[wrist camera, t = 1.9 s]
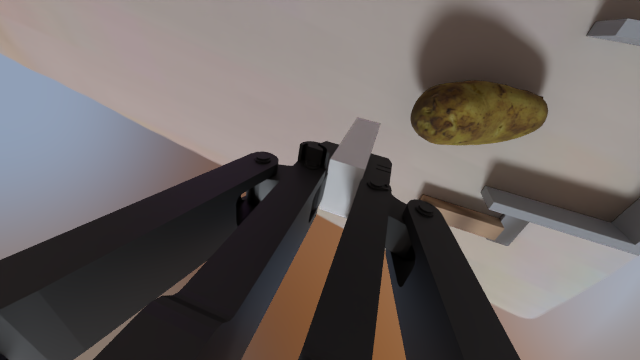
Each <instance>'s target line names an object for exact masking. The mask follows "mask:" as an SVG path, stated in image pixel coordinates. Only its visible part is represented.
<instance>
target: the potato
mask: <svg viewBox="0 0 640 360" xmlns="http://www.w3.org/2000/svg"><path fill="white" fill-rule="evenodd" d="M547 114H548V108H547V104H546V102H545V101H544V100H543V97H542V96H537V95H535V94H533V93H531V92H529V91H526V90H519V89H516V88H513V87H510V86H508V85H506V84H505V85H503V84H498V83H493V82H487V81H476V80H475V81H464V82H455V83H445V84H440V85H436V86H434V87H431V88H429V89H428V90H426V91H425V92H424V93H423V94H422V95H421V96H420V97H419V98H418V100H417V101H416V103H415V105H414V107H413V110H412V113H411V124H412V127H413V128H414V130H415V131H416V133H417V134H418V135H419V136H421V137H422V138H424V139H425V140H427V141H429V142H431V143H434V144H441V145H480V144H490V143H497V142H503V141H508V140H511V139H515V138H518V137H521V136H524V135H527V134H529V133H531V132H533V131H535V130H537V129H538V128H540V127H541V126H542V125H543V123H544V122H545V120H546V118H547Z"/></svg>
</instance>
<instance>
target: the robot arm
mask: <svg viewBox="0 0 640 360" xmlns="http://www.w3.org/2000/svg"><path fill="white" fill-rule="evenodd" d="M379 127H380V123H377V122H373V121H369V120H366V119H362V118H358V117H357V119H356V120H355V122H354V124H353V125H352V127H351V128H350V130H349V131H348V133H347V134H346V136H345V137H344V139H343V140H342V142H341V143H340V145H338V144H335V143H331V142H328V141H325V142H323V143H318V142H312V141H307V142H303V143H301V144H300V148H299V155H298V161H297V162H296V163H295V164H294V166H286V165H278V158H277V157H276V156H275V155H273V154H271V153H268V152H255V153H251V154H249V155H247V156H244V157H242V158H240V159H237V160H235V161H232V162H230V163H228V164H225V165H223V166H221V167H218V168H216V169H214V170H211V171H209V172H207V173H204V174H202V175H199V176H197V177H195V178H192V179H190V180H188V181H185V182H183V183H181V184H178V185H176V186H174V187H171V188H169V189H167V190H164V191H162V192H160V193H157V194H155V195H153V196H150V197H148V198H145V199H143V200H141V201H138V202H136V203H134V204H131V205H129V206H127V207H124V208H122V209H119V210H117V211H115V212H113V213H110V214H108V215H105V216H103V217H101V218H98V219H96V220H94V221H92V222H89V223H86V224H84V225H82V226H79V227H77V228H75V229H73V230H70V231H68V232H65V233H63V234H61V235H58V236H56V237H54V238H51V239H49V240H46V241H44V242H42V243H39V244H37V245H35V246H33V247H30V248H28V249H25V250H23V251H20V252H18V253H16V254H14V255H11V256H9V257H6V258H4V259H2V260H0V360H73V359H75V358H76V357H78V356H79V355H81V354H82V353H83V352H85V351H86V350H88V349H89V348H90V347H92V346H93V345H94V344H96V343H97V342H98V341H100V340H101V339H102V338H104V337H105V336H107V335H108V334H109V333H111V332H112V331H113V330H115V329H116V328H117V327H118V326H120V325H121V324H123V323H124V322H125V321H126V320H128V319H129V318H131V317H132V316H133V315H135V314H136V313H137V312H139V311H140V310H141V309H142V310H141V311H140V312H139V313H138V315H137V316H135V317H134V319H132V320H131V321H130V323H129V324H128V325H127V326H126V327H125V328H124V329H123V330H122V331H121V332H120V333H119V334H118V335H117V336H116V337H115V338H114V339H113V340H112V341H111V342H110V343H109V344H108V345H107V346H106V347H105V348H104V349H103V350H102V351H101V352H100V353H99V354H98V355H97V356H96V357H95V358H94V359H93V360H241V359H242V357H243V355H244V353H245V351H246V349H247V347H248V345H249V343H250V341H251V340H252V337H253V335H254V333H255V332H256V330H257V328H258V326H259V324H260V322H261V320H262V318H263V316H264V314H265V313H266V311H267V309H268V307H269V305H270V303H271V301H272V299H273V297H274V295H275V293H276V291H277V290H278V288H279V286H280V284H281V282H282V280H283V278H284V276H285V274H286V272H287V270H288V268H289V266H290V265H291V263H292V261H293V259H294V257H295V255H296V253H297V251H298V249H299V247H300V245H301V243H302V241H303V239H304V238H305V236H306V233H307V232H308V230H309V228H310V226H311V224H312V222H313V220H314V218H315V216H316V213H317V209H318V206H319V204H320V207H319V209H321V210H324V211H327V212H330V213H333V214H336V215H338V216H341V217H344V218H347V221H346V224H345V227H344V230H343V233H342V236H341V238H340V242H339V244H338V247H337V250H336V253H335V256H334V259H333V262H332V265H331V267H330V270H329V273H328V276H327V279H326V282H325V285H324V288H323V291H322V294H321V296H320V300H319V302H318V305H317V308H316V311H315V314H314V317H313V320H312V322H311V325H310V328H309V332H308V334H307V337H306V340H305V343H304V346H303V348H302V351H301V354H300V356H299V359H298V360H372V355H373V345H374V337H375V329H376V320H377V312H378V311H377V310H378V303H379V294H380V286H381V277H382V267H383V260H384V251H385V248H386V258H387V264H388V269H389V273H390V278H391V284H392V289H393V294H394V299H395V304H396V309H397V314H398V319H399V325H400V330H401V335H402V339H403V345H404V350H405V355H406V360H520V358H519V356H518V354H517V352H516V351H515V349H514V347H513V345H512V343H511V341H510V339H509V338H508V336H507V334H506V332H505V330H504V328H503V326H502V325H501V323H500V321H499V319H498V317H497V315H496V313H495V312H494V310H493V308H492V306H491V304H490V302H489V300H488V298H487V297H486V295H485V293H484V291H483V289H482V287H481V285H480V284H479V282H478V280H477V278H476V276H475V274H474V272H473V271H472V269H471V267H470V265H469V263H468V261H467V259H466V258H465V256H464V254H463V252H462V250H461V248H460V246H459V245H458V243H457V241H456V239H455V237H454V235H453V233H452V232H451V230H450V228H449V226H448V224H447V222H446V220H445V219H444V217H443V215H442V213H441V212H440V211H439V209H437V208H436V207H435V206H434V205H432V204H431V203H429V202H426V201H422V200H411V201H409V202H408V204H405V203H403V202H401V201H400V200H398V199H396V198H395V197H394V196H393V195H392V194H391V191H392V190H391V187H390V185H389V184H390V176H391V168H392V163H391V161H390V160H389V159H388V158H385V157H381V156H378V155H374V154H371V151H372V148H373V145H374V142H375V139H376V136H377V133H378V130H379ZM244 192H246V196H244V197H242V198H241V194H242V193H244ZM320 202H321V203H320ZM207 260H208V261H207ZM206 261H207V262H206ZM204 262H206V263H205V264H204V265H203V266H202V267H201V268H200V269H199V270H198V272H197V273H196V274H195V275H194V276H193V277H192V278H191V279H190V280H189V282H188V283H187V284H186V285H185V286H184V287H183V288H182V289H181V290H180V291H179V292H178V293H176V294H174V295H171V296H170V295H169V296H161V297H159V296H160V295H162V294H163V293H164V292H166V291H167V290H168V289H169V288H171V287H172V286H173V285H175V284H176V283H177V282H179V281H180V280H182V279H183V278H184V277H186V276H187V275H188V274H190V273H191V272H192V271H194V270H195V269H196V268H198V267H199V266H200V265H202V264H203V263H204ZM157 297H159V298H157ZM156 298H157V299H156ZM145 306H146V307H145ZM144 307H145V308H144ZM143 308H144V309H143Z"/></svg>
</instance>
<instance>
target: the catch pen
mask: <svg viewBox="0 0 640 360" xmlns="http://www.w3.org/2000/svg"><path fill="white" fill-rule="evenodd" d="M587 36H589V37H595V38H600V39H605V40H611V41H616V42H622V43H627V44H633V45H638V46H640V20H634V19H617V20H606V21H596V22H595V24H594V25H593V27H592V28H591V30H590V31H589V33H588V34H587ZM481 194H482V197H483V199H484V201H485V203H486V205H487V207H488V209H489V210H492V211H495V212H499V213H502V214H505V215H508V216H512V217H515V218H518V219H521V220H525V221H528V222H531V223H534V224H538V225H541V226H544V227H547V228H551V229H554V230H557V231H560V232H564V233H567V234H570V235H573V236H576V237H580V238H583V239H586V240H589V241H593V242H596V243H599V244H602V245H606V246H609V247H612V248H615V249H619V250H622V251H625V252H628V253H632V254H635V255H640V198H639V199H638V200H637V201H635V202H634V203H633V204H632V205H631V206H630V207H629V208H627V209H626V210H625V211H624V212H623V213H622V214H621V215H619V216H618V217H617V218H616V219H615V220H614V221H613V222H611V223H610V222H607V221H603V220H600V219H597V218H593V217H590V216H586V215H583V214H579V213H576V212H573V211H569V210H566V209H562V208H559V207H556V206H552V205H549V204H545V203H542V202H539V201H535V200H532V199H528V198H525V197H522V196H518V195H515V194H511V193H508V192H505V191H501V190H498V189H494V188H491V187H488V186H485V187H484V189H483V190H482V192H481Z"/></svg>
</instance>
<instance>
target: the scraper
mask: <svg viewBox="0 0 640 360" xmlns="http://www.w3.org/2000/svg"><path fill="white" fill-rule="evenodd" d="M420 200H422V201H426V202H429V203H431V204H432V205H434V206H435V207H436V208H437V209H439V211H440V212H441V213H442V215H443V217H444V219H445V220H446V222H447V224H448V225H449V226H452V227H455V228H458V229H461V230H464V231H467V232H470V233H473V234H476V235H479V236H482V237H485V238H486V239H487V240H490V241H493V242H496V243H499V244H502V245H505V246H509V244H510V243H511V242H512V241H513V240H514V239H515V238H516V237H517V235H518V234H519V233H520V232H521V231H522V230H523V229H524V227H525V226H526V225H527V224H528V223H529V222H528V221H525V220H521V219H518V218H515V217H512V216H508V215H505V214H503V215H502V216H501V217H500V218H496V217H493V216H490V215H487V214H483V213H480V212H477V211H474V210H471V209H467V208H464V207H461V206H458V205H455V204H452V203H448V202H445V201H442V200H439V199H436V198H432V197H429V196H426V195H422V197H421V199H420Z"/></svg>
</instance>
